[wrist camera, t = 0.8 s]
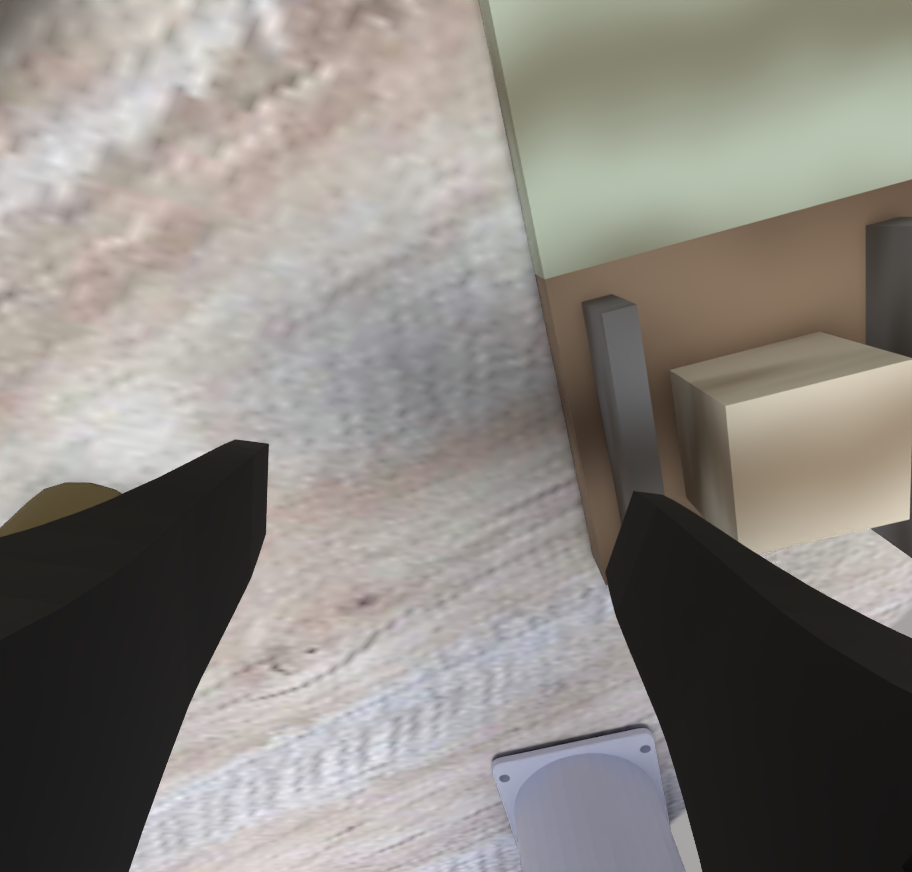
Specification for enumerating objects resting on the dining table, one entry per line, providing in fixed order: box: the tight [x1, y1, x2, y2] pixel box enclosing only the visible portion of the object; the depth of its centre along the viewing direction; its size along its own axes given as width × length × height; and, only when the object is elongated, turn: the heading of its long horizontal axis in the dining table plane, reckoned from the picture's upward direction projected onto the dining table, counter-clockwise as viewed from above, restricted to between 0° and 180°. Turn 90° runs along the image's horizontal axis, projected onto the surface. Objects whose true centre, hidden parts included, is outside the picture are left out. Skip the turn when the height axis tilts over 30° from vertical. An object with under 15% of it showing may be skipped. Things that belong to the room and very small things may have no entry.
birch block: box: [670, 332, 912, 554], centre depth 18 cm, size 5×5×4 cm
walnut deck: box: [479, 0, 912, 585], centre depth 16 cm, size 32×12×4 cm, turn 15°
